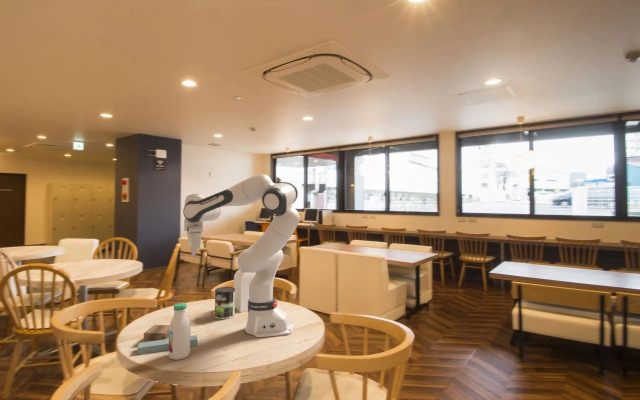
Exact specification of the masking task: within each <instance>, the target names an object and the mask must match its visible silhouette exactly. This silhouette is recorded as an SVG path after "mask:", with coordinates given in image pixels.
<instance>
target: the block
mask: <svg viewBox="0 0 640 400" xmlns="http://www.w3.org/2000/svg"><path fill="white" fill-rule="evenodd" d="M169 327H170V324H154V325H153V326H151V327H150V328H148V329H147V330H146V331H145V332H143V342H149V341H157V340H164V339H169Z"/></svg>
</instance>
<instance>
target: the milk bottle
mask: <svg viewBox="0 0 640 400" xmlns="http://www.w3.org/2000/svg"><path fill="white" fill-rule="evenodd" d="M173 311H174V313H173V316H172V319H171V321H170V323H169V325H170V327H169V350H168V358H169V359H170V360H172V361H173V360H174V361H175V360H176V361H177V360H179V361H180V360H183V359H185V358H188V357H189V356H190V354H191V347H190V336H191V321H190V319H189V317H188V314H187V303H186V302H179V303H175V304H174V305H173Z"/></svg>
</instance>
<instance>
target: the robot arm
mask: <svg viewBox="0 0 640 400" xmlns="http://www.w3.org/2000/svg"><path fill="white" fill-rule="evenodd" d="M298 191H299V190H298V188H297V187H296V185H295V184H294V183H291V182H284V181H276V182H273V180H272V179H271V177H270V176H269V175H268V174H265V173H260V174H256V175H253V176H250V177H248V178H246V179H244V180H242V181H240V182H237V183H236V184H234V185H232V186H230V187H228V188H225V189H223V190H221V191H219V192H217V193H214V194H212V195H210V196H207V197H204V196H203V194H201V193H196V194H195V193H194V194H193V193H192V194H189V195H187V196H186V197H185V199H184V207H183V216H184V221H183V231H185V232H186V234H187V244H188V246H190V252H191V256H192V257H195V256H196V255H197V254H196V252H197V249H200V248H201V244H202V234H203V232H204V222H212V221H215V220H217V219H218V218H220V215H221V208H223V207H243V206H247V205H251V204H254V203H256V202H258V201H260V200H261V202H262V205H263V207H264V208H265V210H266V211H268V212H270V214H271V215H272V216H274V217H273V219H272V220H271V222H270V223H269V225H268V226H267V228H266V229H265V231H264V232H263V234H262V235H261V236H260V237H259V238H258V239H257V240H256V241H255V242H254V243H252V245H250V246H249V247H248V248H246V249H245V250H243V251H241V252H240V253H239V254H238V257H237V261H236V262H237V263H236V264H237V266H238V268H239V269H240V270H241V271H242V272H245V273H254V272H256V274H255V276H254V278H253V279H252V280H251V282H250V284H249V300H248V311H247V321H246V325H245V328H244V331H245V333H247V334H248V335H252V336H253V337H255V338H265V337H275V336H276V337H277V336H287V335H290V334H292V333H293V330H294V324H293V322H291V321H289V317H288V315H287V313H286V312H285V311H283V310H282V309H281V308H280V307H278V301H277V299H276V298H274V295H273V294H274V282H275V276H276V275H277V271H278V268H279V267H280V265H282V263H283V261H284V251H283V250H282V249H283V248H284V247H285V246H286V244H287V243H288V242H289V240H290V238H291V237H292V236H293V234H294V232H296V229H297V227H298V224H299V223H300V220H301V215H300V212H299V211H298V210H297V209H296V208H295V207H293V204H294V203H295V202H296V200H297V198H298V195H299V193H298Z"/></svg>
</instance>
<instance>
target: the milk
mask: <svg viewBox="0 0 640 400" xmlns="http://www.w3.org/2000/svg"><path fill="white" fill-rule="evenodd" d="M255 274H256V272H254V273H245V272H242V271H241V270H240V268H239V269H238V270H237V271H236V272H235V273H234V275H233V288H235V308H234V310H237V312H239V313H244V312H248V300H249V284H250V282H251V280H252V279H253V278H254V276H255Z"/></svg>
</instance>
